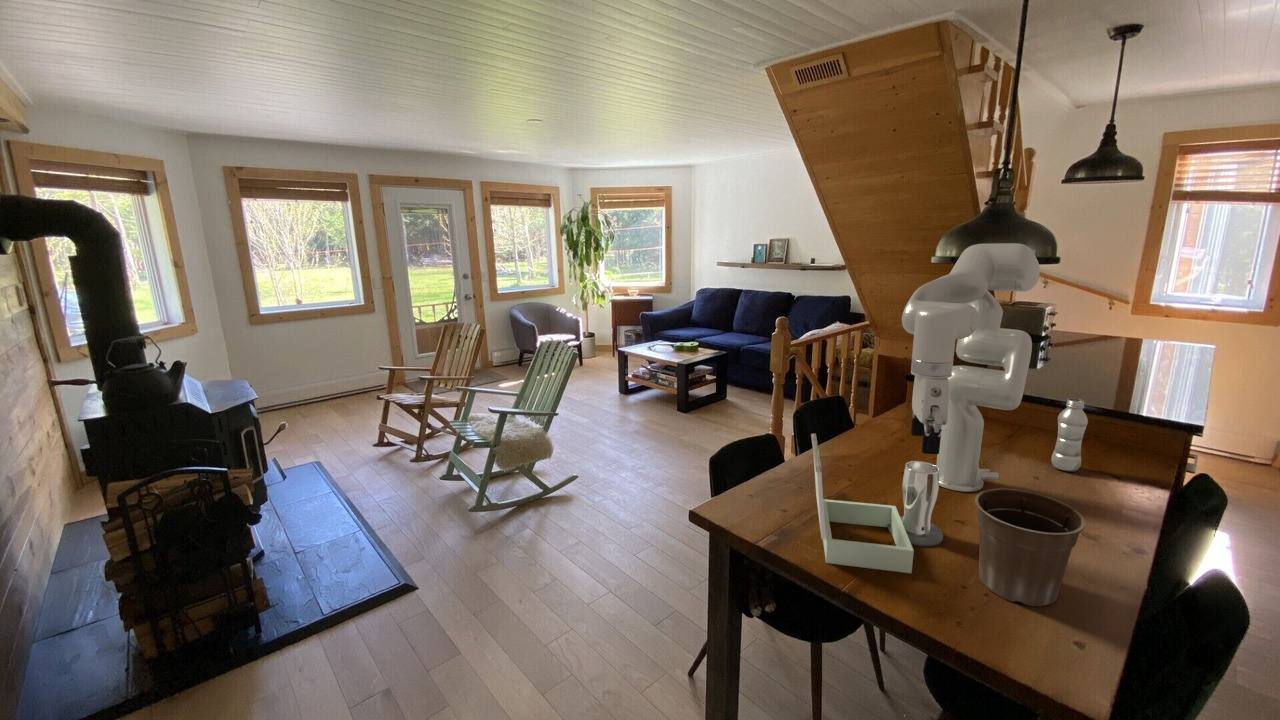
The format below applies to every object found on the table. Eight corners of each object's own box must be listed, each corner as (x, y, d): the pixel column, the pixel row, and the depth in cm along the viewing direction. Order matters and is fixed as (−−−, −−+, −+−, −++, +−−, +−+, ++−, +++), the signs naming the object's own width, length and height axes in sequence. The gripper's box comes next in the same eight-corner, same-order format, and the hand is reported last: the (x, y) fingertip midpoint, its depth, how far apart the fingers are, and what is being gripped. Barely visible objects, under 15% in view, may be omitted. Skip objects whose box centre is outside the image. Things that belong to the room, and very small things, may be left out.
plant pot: (1034, 627, 90) (1048, 542, 86) (946, 574, 104) (955, 499, 100) (1091, 599, 96) (1106, 519, 92) (1000, 552, 110) (1011, 481, 107)
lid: (815, 433, 121) (811, 433, 122) (821, 466, 104) (815, 466, 105) (820, 497, 124) (815, 497, 125) (825, 539, 108) (820, 539, 108)
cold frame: (893, 525, 122) (895, 505, 120) (911, 573, 105) (913, 550, 103) (820, 518, 126) (821, 499, 124) (825, 562, 109) (827, 541, 108)
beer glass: (925, 521, 121) (932, 460, 118) (939, 538, 115) (946, 474, 111) (893, 520, 122) (899, 460, 119) (905, 537, 115) (911, 473, 112)
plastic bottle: (1054, 472, 145) (1065, 402, 141) (1046, 462, 151) (1057, 395, 147) (1083, 475, 143) (1096, 405, 138) (1074, 465, 149) (1086, 397, 144)
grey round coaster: (935, 522, 122) (935, 519, 122) (949, 549, 112) (949, 545, 112) (883, 517, 125) (884, 514, 125) (892, 543, 115) (893, 539, 115)
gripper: (965, 379, 101) (955, 462, 105) (940, 357, 117) (932, 430, 121) (921, 378, 103) (914, 459, 107) (902, 357, 119) (897, 428, 123)
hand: (924, 444), depth 114 cm, fingers open, 9 cm apart
